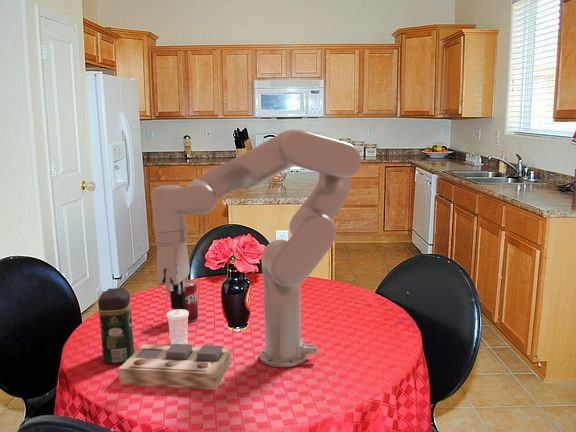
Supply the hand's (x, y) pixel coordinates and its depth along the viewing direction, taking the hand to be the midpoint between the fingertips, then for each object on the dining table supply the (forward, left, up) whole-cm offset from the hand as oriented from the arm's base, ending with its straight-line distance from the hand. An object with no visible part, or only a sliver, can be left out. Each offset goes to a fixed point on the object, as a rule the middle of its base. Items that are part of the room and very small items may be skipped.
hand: (178, 307), depth 132 cm
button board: (0, +2, -16) cm, 17 cm away
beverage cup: (+6, -16, -17) cm, 24 cm away
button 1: (+8, 0, -14) cm, 17 cm away
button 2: (-8, 0, -12) cm, 14 cm away
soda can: (+10, -34, -17) cm, 39 cm away
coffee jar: (+19, -5, -17) cm, 26 cm away
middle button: (0, 0, -12) cm, 12 cm away
